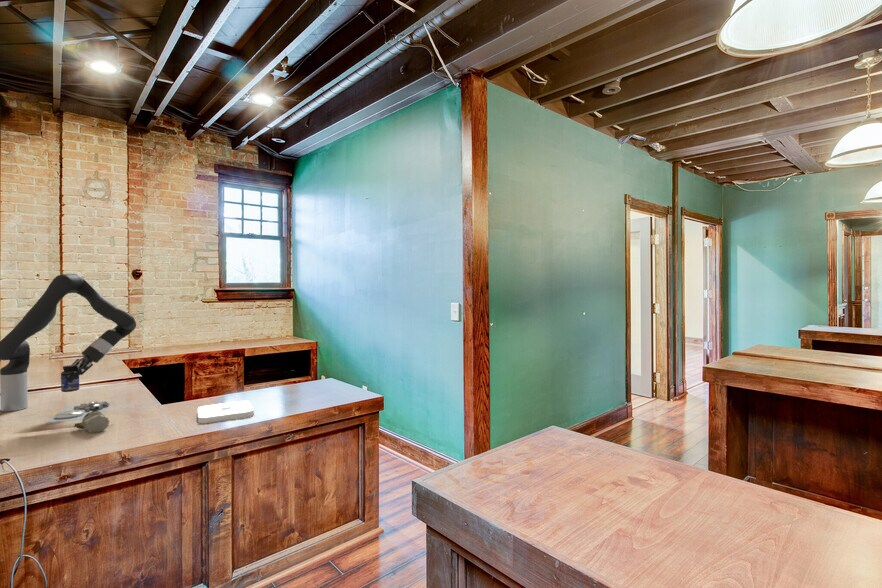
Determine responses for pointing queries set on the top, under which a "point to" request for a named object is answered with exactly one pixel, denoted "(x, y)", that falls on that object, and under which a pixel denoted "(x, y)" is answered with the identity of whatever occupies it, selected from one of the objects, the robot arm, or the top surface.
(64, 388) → the pill bottle
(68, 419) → the gear board
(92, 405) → the gear
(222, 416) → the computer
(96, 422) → the ceramic sculpture
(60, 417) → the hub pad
